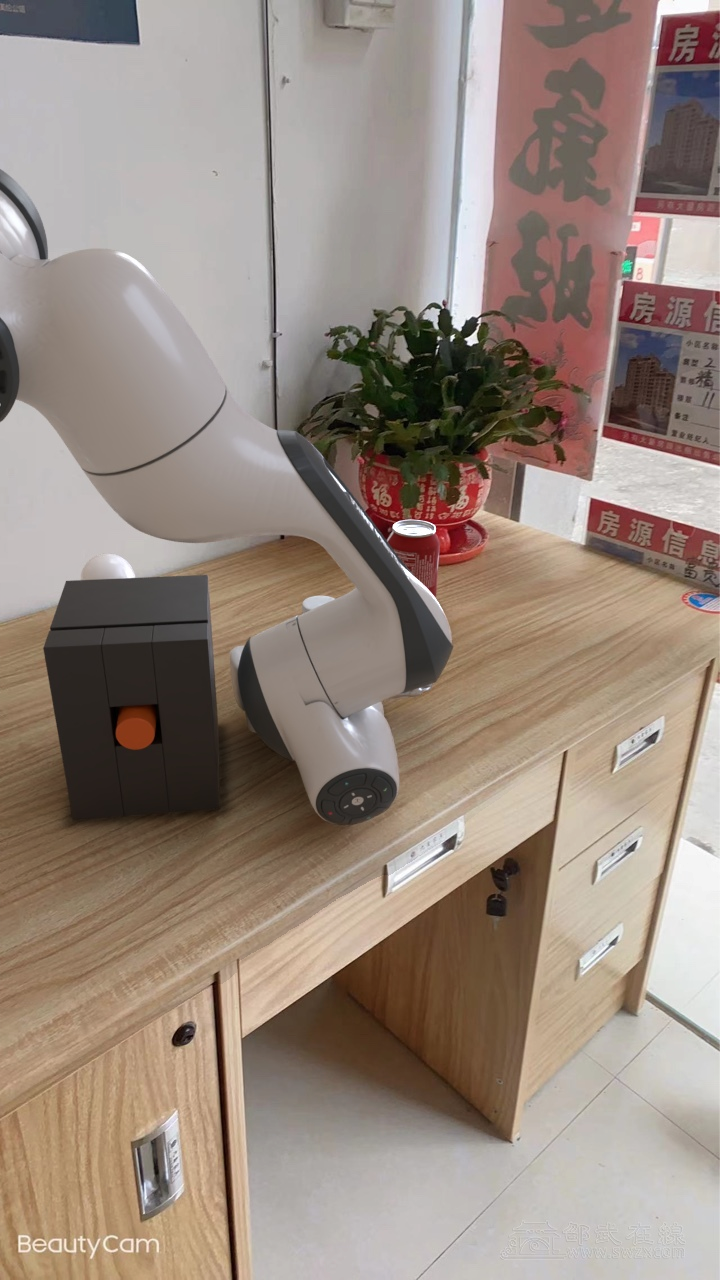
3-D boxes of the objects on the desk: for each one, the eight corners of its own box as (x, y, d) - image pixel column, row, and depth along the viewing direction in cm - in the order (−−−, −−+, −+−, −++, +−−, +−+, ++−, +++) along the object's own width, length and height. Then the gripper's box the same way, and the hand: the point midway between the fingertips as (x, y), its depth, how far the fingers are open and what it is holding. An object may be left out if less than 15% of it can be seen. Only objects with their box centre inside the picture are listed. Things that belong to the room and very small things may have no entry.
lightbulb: (91, 627, 112) (79, 546, 107) (142, 624, 113) (133, 544, 108) (86, 651, 107) (74, 567, 101) (140, 647, 108) (131, 564, 102)
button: (117, 751, 75) (113, 719, 73) (121, 728, 77) (117, 697, 76) (156, 748, 75) (152, 717, 73) (158, 726, 78) (155, 695, 76)
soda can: (437, 623, 115) (443, 537, 109) (385, 622, 115) (388, 536, 109) (433, 601, 121) (438, 518, 115) (383, 600, 121) (386, 517, 115)
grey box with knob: (73, 823, 79) (42, 647, 70) (90, 740, 90) (65, 580, 82) (219, 812, 81) (207, 639, 72) (218, 732, 92) (208, 574, 83)
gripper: (439, 665, 87) (411, 604, 99) (229, 678, 84) (227, 613, 96) (435, 719, 90) (408, 653, 102) (233, 733, 87) (230, 663, 99)
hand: (319, 633), depth 99 cm, fingers open, 6 cm apart
